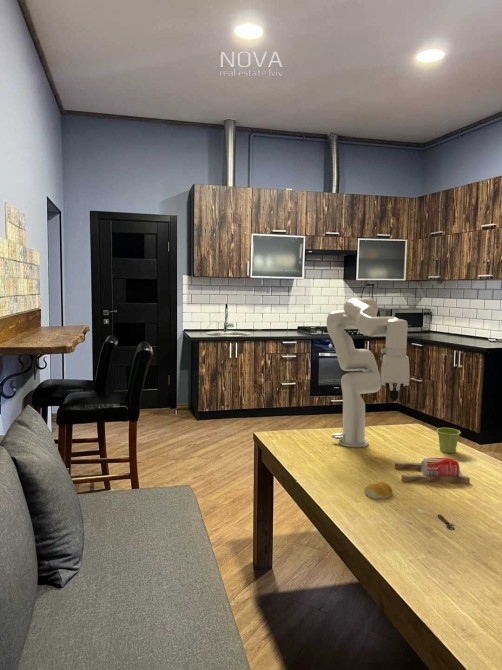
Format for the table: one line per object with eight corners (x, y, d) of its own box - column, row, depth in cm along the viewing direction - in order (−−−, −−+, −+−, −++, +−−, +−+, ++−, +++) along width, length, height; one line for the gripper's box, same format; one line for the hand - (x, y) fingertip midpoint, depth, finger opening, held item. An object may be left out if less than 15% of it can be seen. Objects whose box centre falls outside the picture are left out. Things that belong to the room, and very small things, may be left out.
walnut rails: (402, 482, 181) (402, 476, 181) (394, 467, 195) (394, 462, 195) (469, 483, 179) (469, 478, 179) (456, 469, 193) (456, 463, 193)
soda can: (419, 463, 190) (452, 463, 189) (422, 481, 185) (456, 481, 184) (423, 454, 184) (457, 454, 183) (426, 472, 180) (461, 473, 179)
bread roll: (397, 495, 170) (397, 484, 170) (378, 502, 165) (378, 490, 165) (378, 487, 177) (378, 476, 177) (359, 493, 172) (360, 482, 172)
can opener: (437, 517, 154) (437, 513, 154) (445, 517, 154) (445, 513, 154) (449, 532, 145) (449, 528, 145) (457, 532, 146) (457, 528, 145)
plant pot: (463, 450, 214) (464, 430, 213) (454, 456, 207) (455, 435, 206) (441, 446, 221) (442, 426, 220) (432, 451, 214) (432, 431, 213)
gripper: (376, 353, 188) (374, 402, 190) (418, 354, 186) (416, 403, 189) (373, 350, 195) (371, 397, 198) (413, 351, 194) (411, 398, 196)
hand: (393, 400), depth 193 cm, fingers closed
